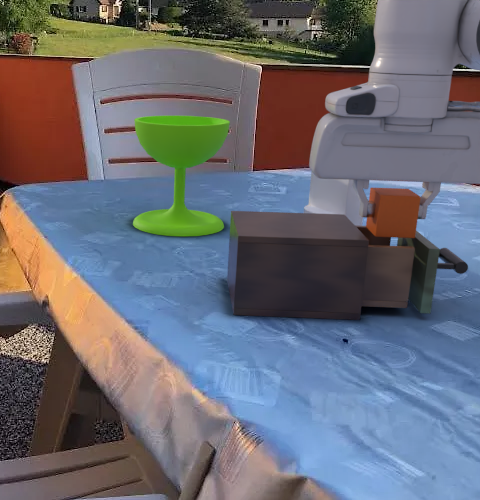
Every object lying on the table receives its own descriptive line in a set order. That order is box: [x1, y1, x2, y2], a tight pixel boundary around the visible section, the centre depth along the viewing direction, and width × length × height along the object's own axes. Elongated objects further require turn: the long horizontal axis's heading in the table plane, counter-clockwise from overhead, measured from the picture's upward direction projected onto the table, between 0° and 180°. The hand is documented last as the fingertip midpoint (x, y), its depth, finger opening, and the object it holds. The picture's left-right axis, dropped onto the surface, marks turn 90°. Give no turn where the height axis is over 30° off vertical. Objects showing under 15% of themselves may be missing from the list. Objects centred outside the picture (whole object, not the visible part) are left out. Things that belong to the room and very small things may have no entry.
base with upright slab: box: [303, 170, 364, 226], centre depth 110 cm, size 9×9×12 cm
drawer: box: [355, 225, 469, 314], centre depth 86 cm, size 18×11×8 cm, turn 86°
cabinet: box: [226, 210, 369, 321], centre depth 87 cm, size 15×13×10 cm
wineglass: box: [132, 115, 231, 237], centre depth 121 cm, size 16×16×18 cm
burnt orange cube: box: [365, 187, 421, 239], centre depth 85 cm, size 5×5×5 cm
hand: (391, 217), depth 85 cm, fingers closed on burnt orange cube, 4 cm apart
